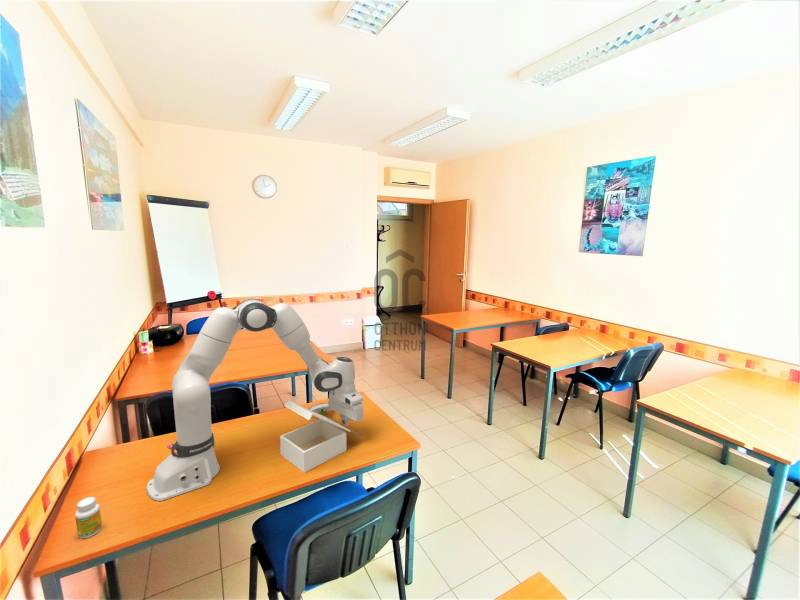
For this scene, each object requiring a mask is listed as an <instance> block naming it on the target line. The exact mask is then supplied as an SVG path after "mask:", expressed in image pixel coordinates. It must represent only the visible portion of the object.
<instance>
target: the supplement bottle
mask: <svg viewBox="0 0 800 600" xmlns="http://www.w3.org/2000/svg"><path fill="white" fill-rule="evenodd" d="M96 502H97V501H96V497H94V496H90V497H85V498H83V499H81V500H80V501H79V502H78V503H77V504H76V507H77V510H76V511H75V514H74V517H75V523H76V532H77V537H78V538H79V539H86V538H87V539H88V538H90V537H92V536H94V535H96V534H98V533H99V532H100V531H101V530H102V527H103V524H102V523H103V522H102V515H101V508H100V507H101V506H100V504H99V503H96Z"/></svg>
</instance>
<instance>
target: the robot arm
mask: <svg viewBox="0 0 800 600" xmlns="http://www.w3.org/2000/svg"><path fill="white" fill-rule="evenodd" d="M243 328H244V329H245V330H247V331H250V332H255V333H257V332H261V331H264V330H268V329H272V330H273V331H274V333H275V334H276V335H277V337H278V339H279V340H280V341H281V342H282V343H283V345H284V346H285V347H286V348H287V349H288V350H290V351H295V352H296V353H297V354H298V355H299V357H300V358H301V360H302V361H303V362H304V364H305V365H306V367H307V374H308V377H309V379H310V380H311V382H312V384H313V386H314V387H315V389H316V390H318V391H319V392H321V393H327V392H329V394H328V402H327V403H328V406H329V408H330V410H332V411H333V412H336V413H338V414H339V416H340V420H341V424H342V425H344V426H348V425H350V424H349V423H350V420H351V421H353V422H355V423H358V422H360V421H363V419H364V404H363V401H364V396H363V395H361V394H360V393H359V392H358V390H357V389H356V384H355V381H356V380H355V379H356V368H355V363H354V360H353V359H351V358H350V357H346V356H338V357H336V358H335V359H334V360H333V361H332V362H331V363H328V362H327V361H326V360H324V359H323V358H322V357H321V358H320V356H319V355H318V354H317V352H316V350H315V349H314V347H313V346H312V344H311V341H310V340H311V335H310V332H309V329H308V328H307V326H306V324H305V322H304V321H303V319H302V318H301V317H300V315H299V314H298V312H296V310H295V309H294V308H293V307H292V306H291V305H290V304H288V303H287V302H280V303H277V304H275V305H273V306H268V305H267V304H265V302H263V301H261V300H259V299H257V298H248V299H246V300H243V301H241V302H240V303H239V304H237V305H236V306H234V307H232V308H229V307H225V306H221V307H217V308H215V309H214V310H213V311H212V312H211V314H209V316H208V318H207V319H206V321H205V322H204V324H203V325H202V327H201V328H200V331H199V333H198V335H197V337H196V338H195V340H194V343H193V344H192V347H191V348H190V350H189V352H188V353H187V354H186V356H185V359H184V360H183V361H182V362H181V364H180V365H179V367H178V369H177V371H176V373H175V374H174V376H173V378H172V383H171V384H172V385H171V386H172V387H171V389H172V400H173V402H172V403H173V410H174V421H175V431H176V432H175V433H176V434H175V435H176V442H174V443H173V442H172V441H170V442H168V443H167V444H166V448H167V449H168V450H170V452H171V453H170V454H169V455H168V456H167V457H166V458H165V459H164V460H163V461H162V462H160V463H159V464H158V465H157V466H156V468H155V471H154V475H153V478H152V479H150V480H149V481H148V482H147V484H146V492H147V495H148V496H149V497H150V499H152V500H154V501H157V502H162V501H165V500H169V499H171V498H173V497H177V496H179V495H182V494H186V493H189V492H192V491H194V490H197V489H200V488H203V487H207V486H209V485H210V484H211V482H212V480H213V478H215V476H216V475H217V474H218V473H219V472H220V469H221V466H220V464H219V462H218V459H217V456H216V453H215V452H216V451H215V443H216V442H215V441H216V440H215V435H214V433H213V428H212V427H213V426H212V414H211V413H212V409H211V407H212V404H211V402H212V401H211V400H212V399H211V387H210V384H209V382H210V379H211V377H212V375H213V373H215V370H216V369H217V368H218V367H219V365H221V363H223V361H224V358H225V356H226V354H227V352H228V351H229V348H230V347H231V345H232V342H233V340H234V338H235V336H236V334H237V333H238V331H240V330H242V329H243Z"/></svg>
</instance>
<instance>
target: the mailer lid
mask: <svg viewBox="0 0 800 600" xmlns="http://www.w3.org/2000/svg"><path fill="white" fill-rule="evenodd" d="M284 407H286V408H287V409H289V410H291V411H293V412H294V413H295V414H298V415H299V416H301V418H305V419H306V420H308V421H311V419H312V418H313V417H315V418H317V419H318V420H320V419H321V420H324V421H326V422H328V423H330V424H332V425H334V426H336V427H338V428H339V429H341V430H343V431H347V432H349V433H352V434H353V435H356V436H358V437H362V434H360V433H358V432H356V431H354V430H352V429H351V428H348V427H347V426H346V425H344V424H342V423H340V422H337V421H335V420H334V419H331V418H329V417H327V416H325V415H324V416H323V415H321V413H319V412H318V413H316V412H314V411H311V410H309V409H310V408H307V407H304V406H303V405H300V404H298V403H296V402H293V401H291V400H289V399H287V400H286V402H285V404H284Z"/></svg>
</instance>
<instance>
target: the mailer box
mask: <svg viewBox="0 0 800 600" xmlns="http://www.w3.org/2000/svg"><path fill="white" fill-rule="evenodd" d="M279 441H280V443H279V447H280V455H281V456H282V457H283V458H285V459H286V460H287V461H288V462H290V463H291V464H292V465H294V466H295V467H296V468H297V469H298V470H300V471H301V472H303V473H306V472H309V471H310V470H312V469H314V468H316V467H318V466H320V465H322V464H323V463H325V462H327V461H330V460H331V459H333V458H335V457H337V456H339V455H340V454H342V453H345V452H346V451H347V450H348V449H347V432H346V430H344V429H342V428H340V427H337V426H335V425H333V424H331V423H328V422H326V421H324V420H321V419H318V420H315V421H313V422H310V423H307V424H306V425H303V426H301V427H299V428H296V429H294V430H291V431H289V432H287V433H284V434H281V435H279Z"/></svg>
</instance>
